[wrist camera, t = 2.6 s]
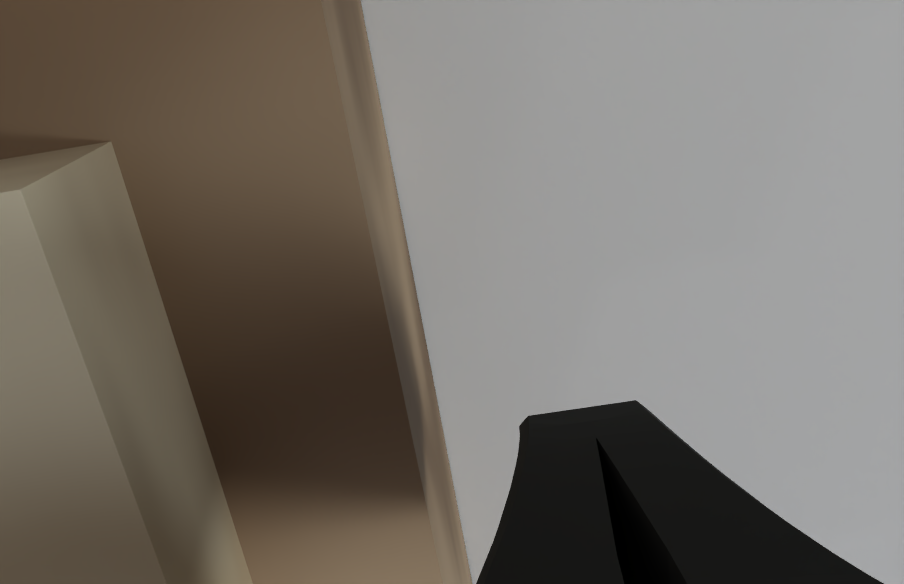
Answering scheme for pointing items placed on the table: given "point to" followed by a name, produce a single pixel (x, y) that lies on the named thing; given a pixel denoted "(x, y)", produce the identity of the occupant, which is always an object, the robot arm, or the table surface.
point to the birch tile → (96, 394)
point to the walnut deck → (264, 261)
